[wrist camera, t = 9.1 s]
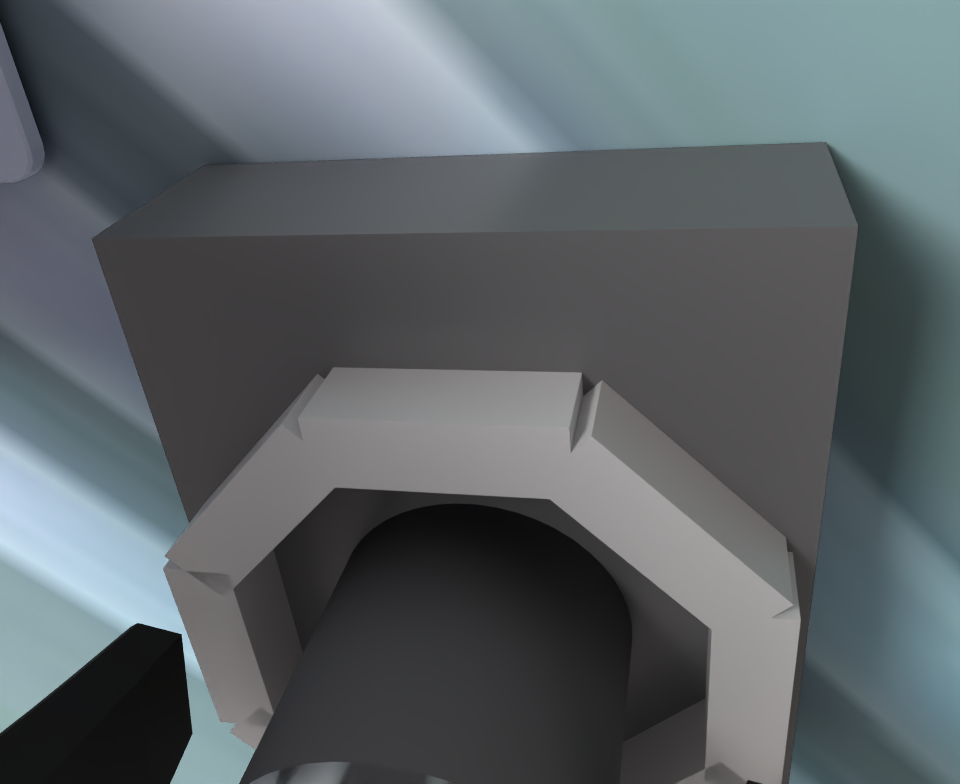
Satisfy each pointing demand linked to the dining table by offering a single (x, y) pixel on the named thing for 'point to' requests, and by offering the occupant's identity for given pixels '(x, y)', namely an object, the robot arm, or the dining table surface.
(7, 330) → the dining table surface
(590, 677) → the lens
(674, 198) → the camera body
